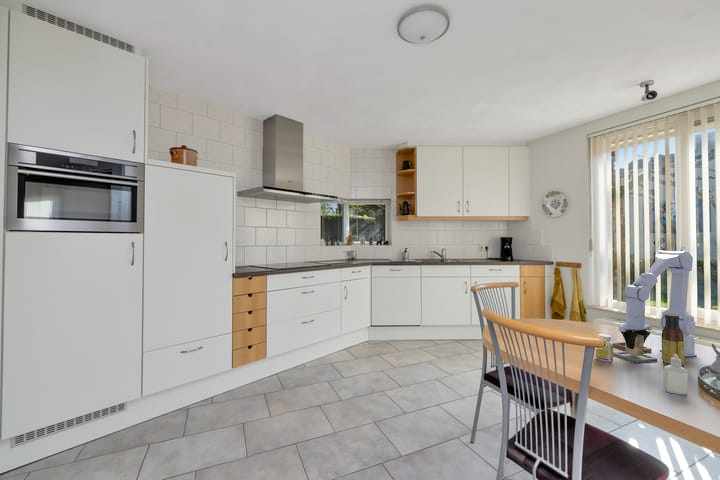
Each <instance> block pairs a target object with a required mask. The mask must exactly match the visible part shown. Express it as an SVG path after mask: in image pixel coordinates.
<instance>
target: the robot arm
mask: <svg viewBox="0 0 720 480" xmlns="http://www.w3.org/2000/svg"><path fill="white" fill-rule="evenodd" d="M654 259H655V262H654V263H653V264H652V265H651V266H650V268H649V269H648V271H647V272H643V273H641V274H640V275H639V276H638V277H637V278H636V280H634V281H633V283H632V284H629V285H626V286H625V287H624V289H623V291H622V295H623V297H624V302H625V303H626V311H625V312H626V316H625V317H626V319H625V322H623V324H622V325H618V331H619V332H620V333H621V335H622V337H623V339H624V342H626V345H627V348H630V349H634V344H635V339H636V337H637V335H638V334H639V335H642V336H644V344H645V342H646V340H647V338H648V337H649V336H650V335H651V331H652V327H653V326H652V324H647V323H646V321H645V319H646V316H645V311H646V301H647V300H649V297H650V294H651V290H652V289H653V287H654V286H655V285H656V284H657V283H658V281H659V280H658V277H659V276H661V274H663V273H664V272H665V271H666V270H668V271H669V272H670V273H671V279H670V281H671V283H670V294H669V305H668V307H669V308H668V309H665V310H664V311H662V313H661V316H660V318H659V325H660V327H661V328H662V330H663V329H664V327H665V324H666V319H665V314H675V315H679V318H680V319H679V328H680V329H681V331H682V332H683V340H684V358H685V357H696V356H698V354H697V353H695V352H696V351H695V348H696V347H695V346H696V343H695V342H696V340H695V337H694V336H693V333H694V332H695V331H696V323H695V317H694V316H693V315H692V314H691V313H689V311H687V302H688V291H689V278H690V277H689V276H690V272H691V271H692V270H693V260H694V259H693V255H691V253H690V252H689V251H677V250H675V251H674V250H663V249H662V250H661V249H660V250H658V252H657V253H656V254H655V256H654ZM645 323H646V324H645ZM659 351H660V352H662V348H660V349H659Z"/></svg>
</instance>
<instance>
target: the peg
mask: <svg viewBox="0 0 720 480" xmlns="http://www.w3.org/2000/svg"><path fill="white" fill-rule="evenodd" d="M644 345H645V343H644V336H642V335H639V334H638V335H637V337H636V339H635V344H634V349H630V348H627V345H626V346H625V353H628V354H630V355H633V356H643V354H644V353H643V349H644V347H645V346H644Z"/></svg>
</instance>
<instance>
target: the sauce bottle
mask: <svg viewBox="0 0 720 480" xmlns="http://www.w3.org/2000/svg"><path fill="white" fill-rule="evenodd" d="M680 318H681V317H679V315H675V314H665V319H666V324H665V327H664V329H663V328H662V331H661V349H662V351H661V360H662V364H663V366H664V367H665V366H667V365H671V364H670V363H671V358H672V357H674V354H677V355H678V358H679V359H681V367H683V368H685V357H684V340H683V332H682V331H681V329H680V328H679V319H680Z"/></svg>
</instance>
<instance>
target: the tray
mask: <svg viewBox="0 0 720 480" xmlns="http://www.w3.org/2000/svg"><path fill="white" fill-rule="evenodd" d="M614 356H615V357H617V358H620V359H623V360H625V361H628V362H631V363H633V364H641V363H642V364H643V363H653V362H654V363H655V362H658V358H657V357H654V356H651V355H649V354H646V353H643V356H633V355H630V354H628V353H625V351H624V350H621V351H613V357H614Z"/></svg>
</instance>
